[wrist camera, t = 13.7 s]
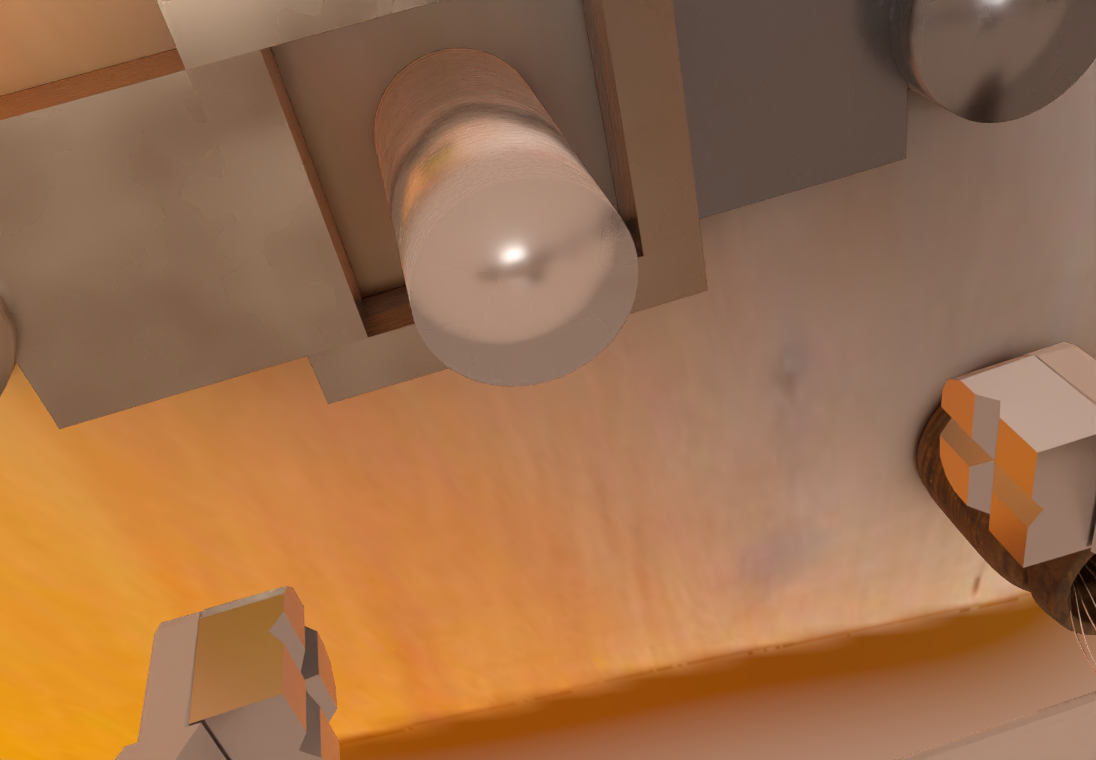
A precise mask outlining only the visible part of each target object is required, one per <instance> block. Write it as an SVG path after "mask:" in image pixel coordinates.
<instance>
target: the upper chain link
mask: <svg viewBox="0 0 1096 760" xmlns="http://www.w3.org/2000/svg"><path fill="white" fill-rule="evenodd" d="M156 1H157V3H158V5H159V8H160V10H161V12H162V15H163V17H164V19H165V22H166V24H167V26H168V29H169V31H170V33H171V36H172V38H173V41H174V43H175V45H176V48H177V49H174V50H170V51H167V52H163V53H159V54H155V55H152V56H148V57H144V58H141V59H137V60H133V61H130V62H126V63H122V64H119V65H115V66H111V67H107V68H104V69H100V70H96V71H93V72H89V73H85V74H82V75H78V76H74V77H71V78H67V79H63V80H59V81H56V82H52V83H48V84H45V85H41V86H37V87H34V88H30V89H26V90H23V91H19V92H15V93H11V94H8V95H4V96H0V396H1V394H2V392H3V390H4V389H5V387H6V385H7V382H8V380H9V378H10V376H11V373H12V371H13V369H14V366H15V364H16V362H17V364H18V365H19V367H20V368H21V370H22V371H23V373H24V375H25V376H26V378H27V379H28V381H29V382H30V384H31V385H32V387H33V389H34V390H35V392H36V393H37V395H38V396H39V398H40V399H41V401H42V402H43V404H44V406H45V407H46V409H47V410H48V412H49V413H50V415H51V416H52V418H53V420H54V421H55V423H56V424H57V426H58V427H59V429H61V428H65V427H68V426H71V425H75V424H78V423H82V422H85V421H88V420H92V419H95V418H98V417H102V416H105V415H109V414H112V413H115V412H119V411H122V410H125V409H129V408H132V407H136V406H139V405H142V404H146V403H149V402H153V401H156V400H159V399H163V398H166V397H169V396H173V395H176V394H180V393H183V392H186V391H190V390H193V389H196V388H200V387H203V386H207V385H210V384H213V383H217V382H220V381H223V380H227V379H230V378H234V377H237V376H240V375H244V374H247V373H250V372H254V371H257V370H261V369H264V368H267V367H271V366H274V365H277V364H281V363H284V362H288V361H291V360H294V359H298V358H301V357H304V356H308V358H309V360H310V363H311V365H312V367H313V370H314V372H315V374H316V377H317V379H318V381H319V384H320V386H321V389H322V391H323V393H324V396H325V398H326V400H327V403H328V404H331V403H334V402H337V401H341V400H344V399H347V398H351V397H354V396H357V395H361V394H364V393H367V392H371V391H374V390H377V389H381V388H384V387H387V386H391V385H394V384H397V383H401V382H404V381H407V380H411V379H414V378H417V377H421V376H424V375H427V374H431V373H434V372H437V371H441V370H444V369H447V368H449V367H448V366H446V365H445V364H444V363H442V362H441V361H440V360H439V359H438V358H437V357H436V356H435V355H434V354H433V353H432V352H431V350H430V349H429V348H428V347H427V345H426V344H425V342H424V341H423V339H422V337H421V336H420V334H419V332H418V329H417V327H416V324H415V322H414V318H413V314H412V310H411V306H410V304H409V305H406V306H403V307H399V308H396V309H392V310H389V311H386V312H382V313H379V314H375V315H372V316H369V317H365V315H364V313H363V310H362V307H361V305H360V302H359V299H358V297H357V294H356V291H355V289H354V286H353V283H352V280H351V278H350V275H349V272H348V270H347V267H346V264H345V262H344V259H343V256H342V254H341V251H340V248H339V245H338V243H337V240H336V237H335V235H334V232H333V229H332V227H331V224H330V221H329V219H328V216H327V213H326V210H325V208H324V205H323V202H322V200H321V197H320V194H319V192H318V189H317V186H316V184H315V181H314V178H313V175H312V173H311V170H310V167H309V165H308V162H307V159H306V157H305V154H304V151H303V149H302V146H301V143H300V141H299V138H298V135H297V132H296V130H295V127H294V124H293V122H292V119H291V116H290V114H289V111H288V108H287V106H286V103H285V100H284V97H283V95H282V92H281V89H280V87H279V84H278V81H277V79H276V76H275V73H274V71H273V68H272V65H271V62H270V60H269V57H268V54H267V52H266V49H265V48H268V47H272V46H275V45H279V44H283V43H286V42H290V41H294V40H297V39H301V38H305V37H308V36H312V35H316V34H319V33H323V32H327V31H330V30H334V29H338V28H341V27H345V26H349V25H352V24H356V23H360V22H363V21H367V20H371V19H374V18H378V17H382V16H385V15H389V14H393V13H396V12H400V11H404V10H407V9H411V8H415V7H418V6H422V5H426V4H429V3H433V2H437V1H440V0H156ZM592 6H593V12H594V18H595V24H596V30H597V35H598V41H599V47H600V53H601V59H602V65H603V71H604V77H605V83H606V89H607V95H608V101H609V107H610V113H611V118H612V124H613V130H614V136H615V142H616V148H617V154H618V160H619V166H620V172H621V178H622V184H623V190H624V195H625V201H626V207H627V213H628V219H629V225H630V231H631V237H632V239H633V242H634V245H635V249H636V253H637V257H638V270H639V272H638V285H637V290H636V295H635V299H634V302H633V305H632V308H631V310H630V313H634V312H637V311H640V310H644V309H647V308H650V307H654V306H657V305H660V304H664V303H667V302H670V301H674V300H677V299H680V298H684V297H687V296H690V295H694V294H697V293H700V292H704V291H707V290H708V289H707V281H706V273H705V265H704V256H703V248H702V240H701V232H700V223H699V215H698V207H697V199H696V190H695V182H694V174H693V166H692V157H691V149H690V141H689V133H688V124H687V116H686V108H685V100H684V91H683V83H682V75H681V66H680V58H679V50H678V42H677V33H676V25H675V17H674V9H673V0H592ZM630 313H629V314H630Z"/></svg>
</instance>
